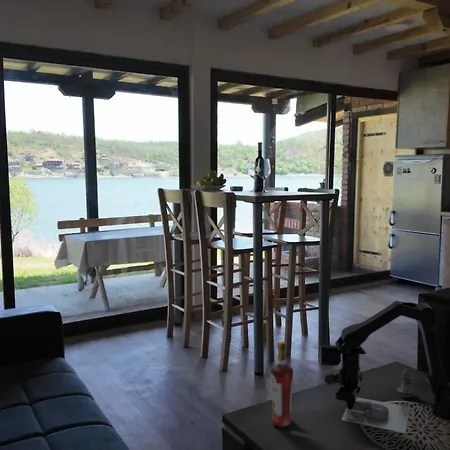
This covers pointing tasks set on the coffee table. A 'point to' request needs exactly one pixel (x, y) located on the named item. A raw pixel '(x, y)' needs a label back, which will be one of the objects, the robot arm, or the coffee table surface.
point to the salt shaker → (406, 385)
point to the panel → (394, 421)
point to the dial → (371, 410)
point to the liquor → (281, 389)
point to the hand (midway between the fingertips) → (350, 409)
